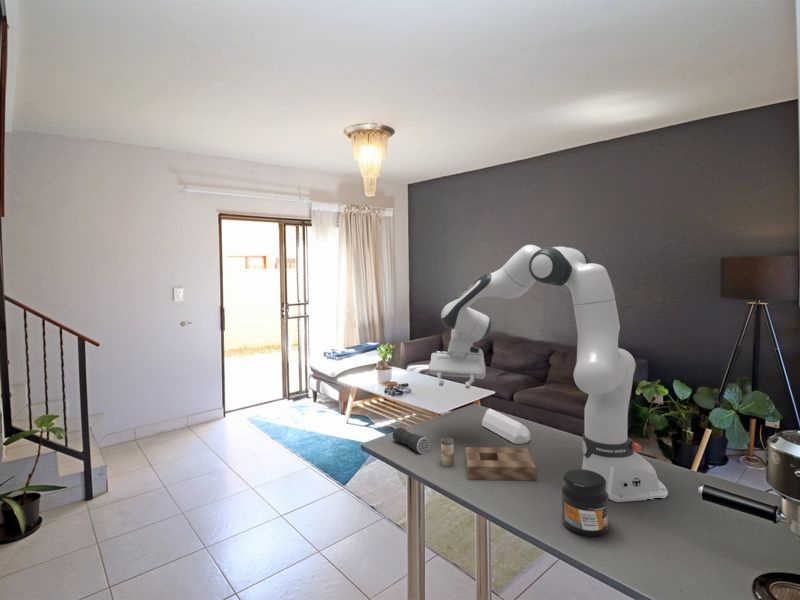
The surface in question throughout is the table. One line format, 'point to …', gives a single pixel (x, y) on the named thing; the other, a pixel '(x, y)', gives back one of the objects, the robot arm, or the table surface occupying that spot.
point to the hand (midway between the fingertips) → (454, 386)
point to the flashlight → (411, 440)
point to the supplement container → (585, 502)
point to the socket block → (499, 463)
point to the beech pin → (447, 452)
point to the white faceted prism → (506, 427)
